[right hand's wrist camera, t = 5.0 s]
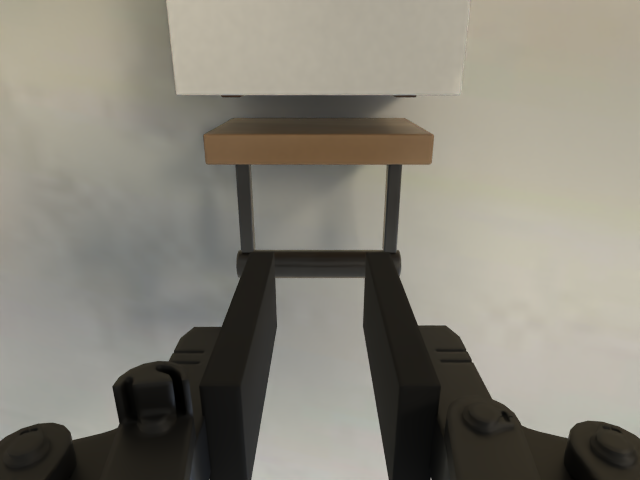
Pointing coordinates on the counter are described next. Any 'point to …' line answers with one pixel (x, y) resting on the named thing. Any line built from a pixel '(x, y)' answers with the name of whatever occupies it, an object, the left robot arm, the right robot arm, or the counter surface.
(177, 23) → the cabinet
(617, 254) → the counter surface
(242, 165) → the drawer
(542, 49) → the counter surface
